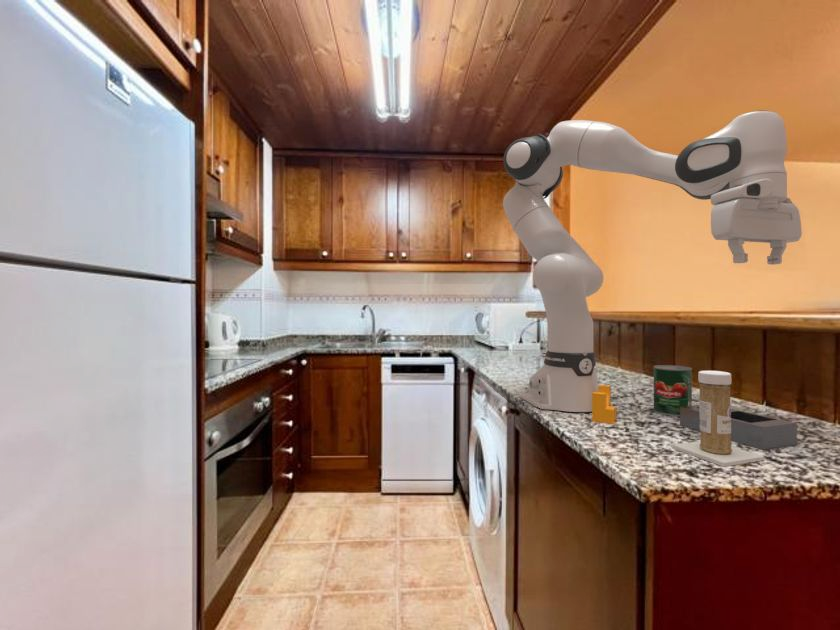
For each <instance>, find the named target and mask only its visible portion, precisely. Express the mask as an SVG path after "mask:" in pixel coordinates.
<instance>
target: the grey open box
mask: <svg viewBox="0 0 840 630" xmlns="http://www.w3.org/2000/svg"><path fill="white" fill-rule="evenodd" d="M679 426H681V427H684V428H687V429H690V430H695V431H698V432H700V413H699V404H695V405H693V404H692V406H683V407H680V417H679ZM731 442H735V443H739V444H741V445H742V444H743V445H745V446H749V447H753V448H756V449H759V450H762V451H764V450H771V449H777V448H785V447H790V446H791V447H792V446H797V445H798V424H797V422H795V421H790V420H786V419H785V420H784V419H782V418H781V419H780V418H777V417H776V418H775V417H771V416H767V415H763V414H757V413H754V412H748V411H744V410H739V409H735V408H731Z"/></svg>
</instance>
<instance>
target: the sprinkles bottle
mask: <svg viewBox="0 0 840 630" xmlns="http://www.w3.org/2000/svg"><path fill="white" fill-rule="evenodd" d="M697 373H698V375H697V376H698V377H697V380H698V382H699V383H698V385H699V400H698V403H699V404H698V405H699V413H700V431H699V432H700V437H699V438H700V440H699V441H701V442H700V448H701V449H703V450H705V451H707V452H711V453H715V454H729V453H731V452H732V448H731V446H732V441H731V409H732V406H731V385H732V381H733V380H732V373H730V372H727V371H723V370H722V371H721V370H700V371H698V372H697Z"/></svg>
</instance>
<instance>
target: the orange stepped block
mask: <svg viewBox="0 0 840 630" xmlns="http://www.w3.org/2000/svg"><path fill="white" fill-rule="evenodd" d="M611 388H612V386H611V385H609V384H608V385H606V384H598V392H593V393H592V411H591V414H592V415H591V416H592V418H591V419H592V420H591V421H593V423H601V424H609V423H610V425H614V424H615V423H616V420H617V416H618V414H617V413H618V412H617V409H618V408H617V407H616V406H613V405H612V402H611V401H612V400H611V399H612V397H611V396H612V395H611V394H612V392H611Z"/></svg>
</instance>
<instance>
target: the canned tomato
mask: <svg viewBox="0 0 840 630" xmlns="http://www.w3.org/2000/svg"><path fill="white" fill-rule="evenodd" d="M692 371H693V368H692V367H690V366H684V365H674V364H671V365H670V364H661V365H660V364H657V365H653V412H654V413H655V414H658V413H659V415H662V414H663V416H668V415H669V417H677V416H680V407H683V406H693V402H692V401H693V393H692V392H693V385H692V384H693V372H692Z"/></svg>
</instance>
